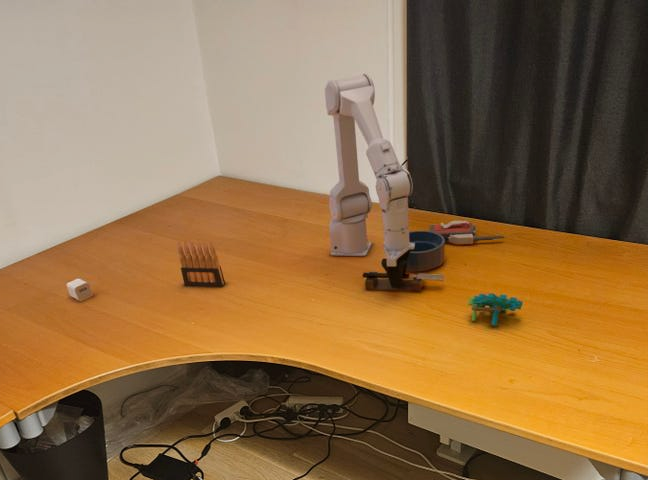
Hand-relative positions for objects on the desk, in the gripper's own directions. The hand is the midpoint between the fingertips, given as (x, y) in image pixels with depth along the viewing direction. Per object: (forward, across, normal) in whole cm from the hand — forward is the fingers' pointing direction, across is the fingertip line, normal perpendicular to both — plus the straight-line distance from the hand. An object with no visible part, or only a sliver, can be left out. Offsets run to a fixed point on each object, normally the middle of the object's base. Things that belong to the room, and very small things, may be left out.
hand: (398, 280), depth 144 cm
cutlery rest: (+2, 0, +1) cm, 2 cm away
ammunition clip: (+2, -2, +50) cm, 50 cm away
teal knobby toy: (+2, -12, -22) cm, 26 cm away
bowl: (+2, +14, -2) cm, 14 cm away
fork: (-1, 0, -2) cm, 2 cm away
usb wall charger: (+2, -10, +82) cm, 82 cm away
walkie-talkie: (+2, +28, -12) cm, 30 cm away
